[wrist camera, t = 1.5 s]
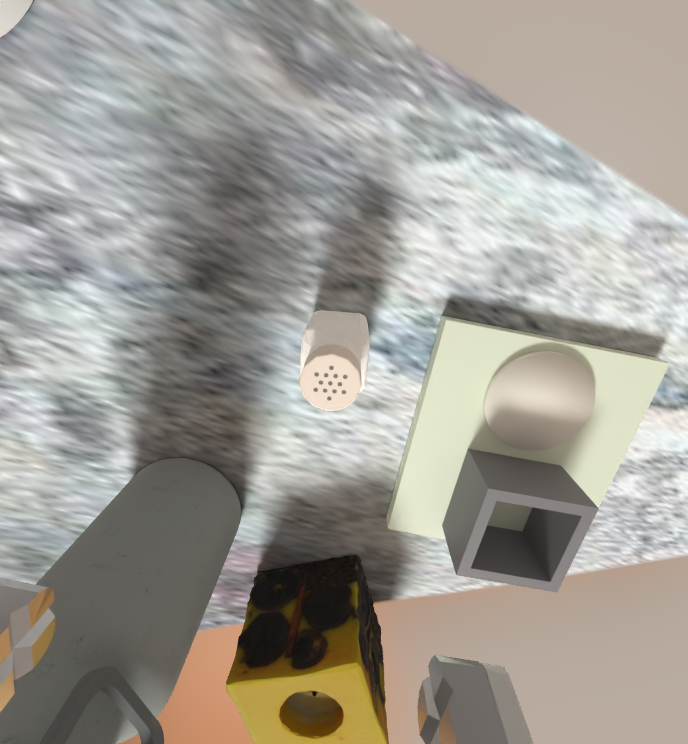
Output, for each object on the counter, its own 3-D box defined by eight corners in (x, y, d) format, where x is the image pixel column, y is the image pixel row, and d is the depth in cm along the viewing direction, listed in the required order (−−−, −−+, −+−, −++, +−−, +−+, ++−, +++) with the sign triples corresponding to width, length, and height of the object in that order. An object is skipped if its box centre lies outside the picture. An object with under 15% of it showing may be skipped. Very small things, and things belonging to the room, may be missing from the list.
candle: (285, 645, 40) (263, 772, 31) (253, 570, 37) (217, 685, 27) (383, 629, 39) (392, 756, 30) (358, 550, 36) (359, 664, 26)
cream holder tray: (441, 315, 28) (465, 338, 22) (654, 357, 29) (734, 390, 23) (386, 516, 34) (392, 578, 28) (563, 548, 35) (607, 615, 29)
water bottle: (217, 437, 32) (-416, 1367, 6) (266, 529, 35) (-6, 1422, 9) (110, 472, 34) (-785, 1346, 7) (166, 558, 37) (-327, 1400, 10)
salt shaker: (362, 364, 30) (365, 421, 21) (309, 360, 30) (289, 415, 21) (368, 312, 28) (373, 349, 19) (312, 307, 28) (292, 342, 19)
